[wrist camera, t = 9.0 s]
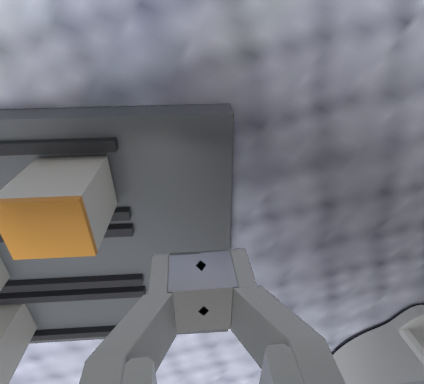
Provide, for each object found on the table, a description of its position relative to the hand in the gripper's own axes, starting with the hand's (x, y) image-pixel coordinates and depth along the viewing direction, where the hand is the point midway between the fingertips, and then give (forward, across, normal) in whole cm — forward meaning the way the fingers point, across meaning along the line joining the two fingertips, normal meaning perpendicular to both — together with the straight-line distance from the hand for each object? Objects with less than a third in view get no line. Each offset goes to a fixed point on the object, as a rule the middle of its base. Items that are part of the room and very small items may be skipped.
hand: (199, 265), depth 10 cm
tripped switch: (+8, +6, +1) cm, 10 cm away
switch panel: (+10, +8, +6) cm, 14 cm away
